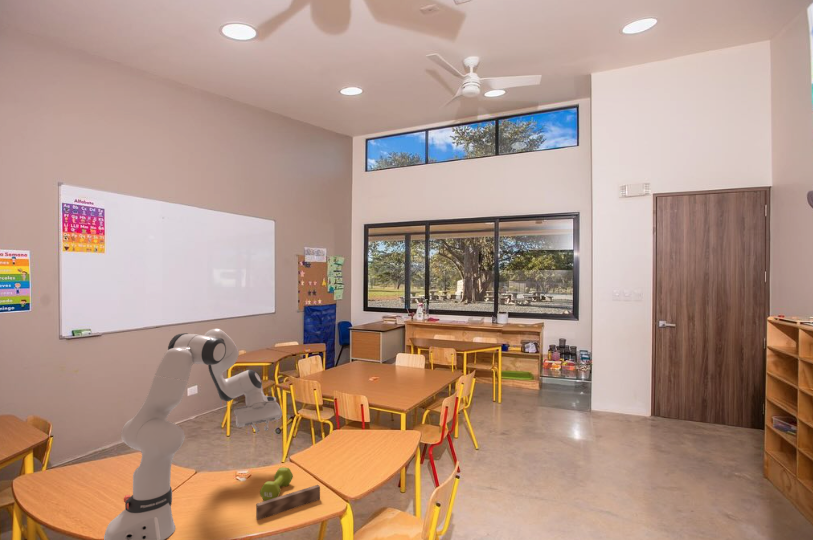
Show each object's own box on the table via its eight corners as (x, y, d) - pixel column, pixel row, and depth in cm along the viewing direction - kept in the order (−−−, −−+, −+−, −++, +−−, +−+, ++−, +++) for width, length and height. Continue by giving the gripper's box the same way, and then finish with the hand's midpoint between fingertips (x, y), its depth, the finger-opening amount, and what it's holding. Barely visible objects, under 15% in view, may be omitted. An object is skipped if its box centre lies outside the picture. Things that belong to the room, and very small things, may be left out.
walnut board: (257, 520, 149) (257, 506, 149) (256, 517, 151) (256, 503, 151) (320, 499, 163) (319, 486, 163) (318, 497, 164) (317, 484, 165)
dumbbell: (277, 503, 160) (277, 485, 161) (258, 502, 161) (258, 484, 162) (294, 483, 177) (294, 466, 177) (276, 482, 178) (276, 465, 178)
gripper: (234, 404, 187) (239, 432, 179) (279, 396, 199) (285, 422, 190) (231, 411, 190) (236, 439, 182) (276, 404, 202) (282, 429, 194)
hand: (262, 430), depth 186 cm, fingers open, 3 cm apart
